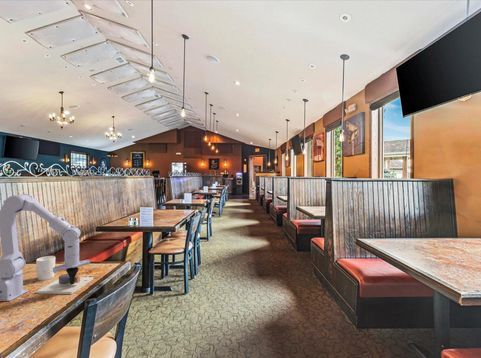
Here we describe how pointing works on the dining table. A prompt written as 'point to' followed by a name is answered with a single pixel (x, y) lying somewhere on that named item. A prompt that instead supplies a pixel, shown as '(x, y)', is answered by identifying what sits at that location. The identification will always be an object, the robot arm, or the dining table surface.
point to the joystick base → (64, 287)
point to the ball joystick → (68, 279)
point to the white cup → (45, 267)
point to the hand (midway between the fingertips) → (72, 283)
